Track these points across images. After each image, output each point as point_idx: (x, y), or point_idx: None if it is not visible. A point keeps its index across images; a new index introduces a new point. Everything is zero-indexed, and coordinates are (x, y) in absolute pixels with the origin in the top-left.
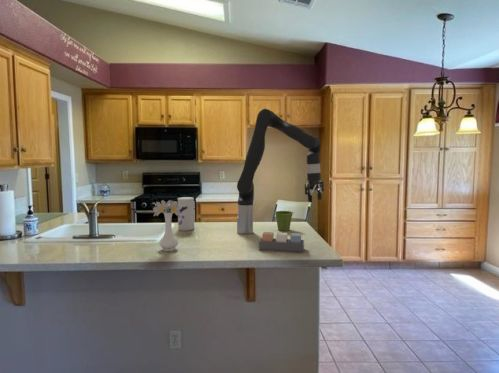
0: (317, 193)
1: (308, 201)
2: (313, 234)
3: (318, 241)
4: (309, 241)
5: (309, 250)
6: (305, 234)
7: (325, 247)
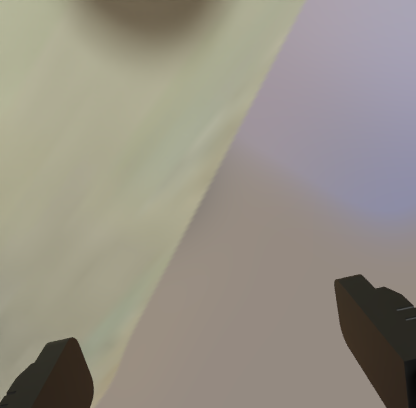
0: (400, 357)
1: (49, 342)
2: (261, 77)
3: (162, 242)
4: (113, 219)
5: (2, 360)
6: (212, 45)
7: (114, 350)
